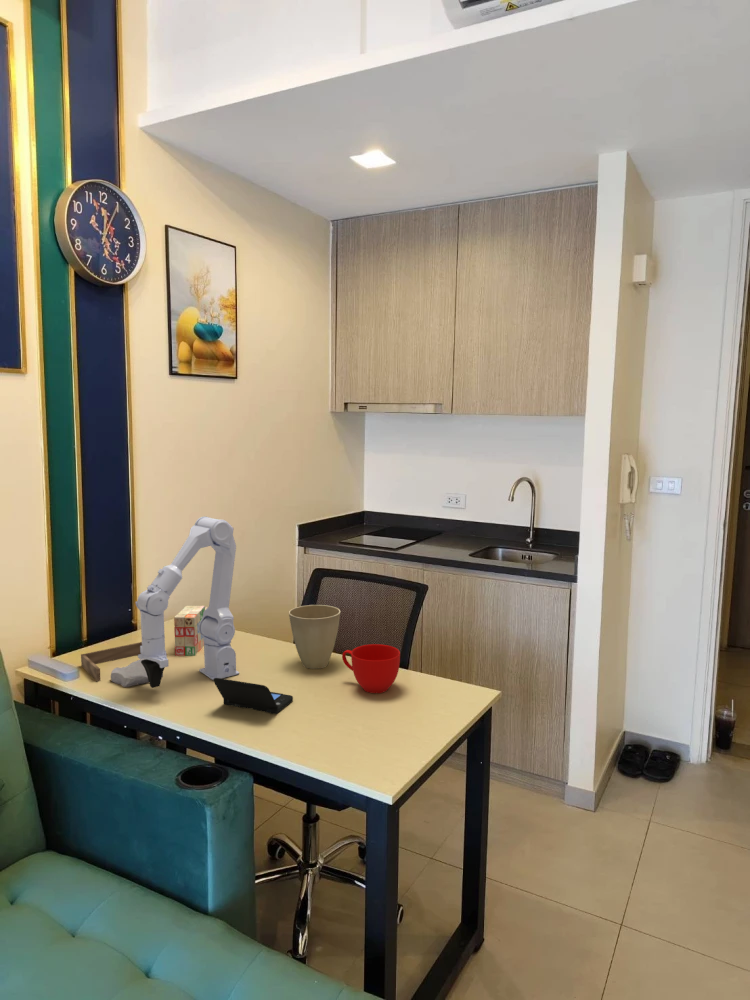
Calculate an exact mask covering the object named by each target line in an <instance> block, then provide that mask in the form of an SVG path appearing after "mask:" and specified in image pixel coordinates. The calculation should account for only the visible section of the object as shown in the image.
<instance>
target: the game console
mask: <svg viewBox="0 0 750 1000" xmlns="http://www.w3.org/2000/svg"><path fill="white" fill-rule="evenodd" d="M212 681H213V683H214V685H215V686H216V688H217V690H218V692H219V693H220V695H221V697H222V698H223V705H224V706H228V707H235V708H240V709H251V710H254V711H257V712H264V713H269V714H272V715H273V714H274V715H277V714H279V713H280V711H282V710H283V709H284V708H286V707H287V706H288V705H290V704H291V703H292V702H293V701H294V697H293V695H289V694H286V693H285V694H284V693H281V692H274V691H271V690H270V688H269V687H268V686H266V685H263V684H260V683H259V684H258V683H252V682H247V681H246V682H245V681H238V680H232V679H227V678H214V679H213V680H212Z"/></svg>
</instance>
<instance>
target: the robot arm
mask: <svg viewBox="0 0 750 1000" xmlns="http://www.w3.org/2000/svg"><path fill="white" fill-rule="evenodd" d="M208 547H211V548H212V549H213V550H214V551H215V553H214V554H215V555H214V561H213V570H212V571H213V572H212V578H211V587H210V594H209V595H210V596H209V603H208V606H207V607H208V608H207V609H206V610H205V611H204V612H203V617H202V620H201V621H200V623H199V632H200V634H201V635H202V636H203V640H204V646H203V649H204V650H203V655H204V657H203V659H204V667H202V668H199V669H198V670H199V672H200V673H201V674H203V675H205V676H206V677H207V678H209V679H210V680H212V681H213V679H214V678H221V679H226V678H228V677H232V676H237V675H239V674H240V671H238V670H237V653H236V650H235V649H234V648H233V647H232V645H231V643H232V640H233V638H234V637H235V633H236V628H235V625H234V620H235V619H234V615H233V614H232V613H233V612H231V610H230V602H231V601H230V599H231V593H232V584H233V576H234V570H235V569H234V568H235V561H236V551H237V544H236V541H235V538H234V527H233V526H232V525H231V524H230V523H229V522H228V521H227V520H225V519H217V518H212V517H210V516H205V515H204V516H201V517H198V518H197V519H196V521H195V523H194V525H192V526H191V527H190V530H189V535H188V536H187V538H186V539H185V541H184V543H183V544H182V546H181V548H180V549H179V551H178V552H177V554H176V556H175V557H174V558H173V560H172V562H171V563H170V564H168V565H165V566H163V567H162V568H159V569H158V570H157V575H156V576H155V578H154V579H153V581H152V582H151V584H149V585H148V586H147V587H146V588H147V589H145V590H144V591H142V592H140V593H139V595H138V597H137V601H135V606H136V608H137V609H138V610H139V612H140V628H141V630H140V631H141V632H140V633H141V642H142V646H140V653H141V654H139V655H137V658H138V660H140V659H145V660H142V661H141V663H142V665H143V666H144V668H145V671H146V673H147V676H148V680H149V682H148V683H149V686H150V688H157V687H158V688H159V687H160V686H161V681H162V678H163V677H162V674H163V675H164V670H165V668H168V667H169V666H170V665H169V659H168V657H167V656H168V655H167V656H166V654H167V650H166V642H165V641H166V640H165V634H166V633H165V614H164V612H165V611H166V610H167V609H168V607H169V600H170V596H171V595H172V594H173V592H174V591H175V589H176V588H177V587H178V585H179V584H180V582H181V581H182V579H183V574H182V573H183V571H184V570H185V568H186V567H187V565H188V564H189V563H190V562H191V561H192V559H193V558H194V557H195V556H196V555H197V554H198V552H199V551H200V550H201V549H203V548H208Z"/></svg>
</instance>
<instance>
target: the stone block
mask: <svg viewBox="0 0 750 1000" xmlns="http://www.w3.org/2000/svg"><path fill="white" fill-rule="evenodd" d="M142 660H145V659H138V660H135V661H132V662H131V663H130V664H128V665H127V666H122V667H115V668H113V669H112V670H111V673H110V681H111V682H112V683H115V684H118V685H121V686H122V687H123V688H129V687H132V686H138V685H142V684H147V683H149V680H148V676H147V673H146V671H145V668H144V666H143V665H142V663H141V661H142ZM163 677H164V673H163V674H162V678H163Z"/></svg>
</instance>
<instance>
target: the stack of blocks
mask: <svg viewBox="0 0 750 1000" xmlns="http://www.w3.org/2000/svg"><path fill="white" fill-rule="evenodd" d="M208 607H209V606H205V605H185V606H184V607H183V608H182V609H181V610H180V611H179V612H178V613H177V614H176V615H175V616H173V622H174V623H173V625H174V628H173V629H174V651H175V652H174V655H175V656H183V657H184V656H187V657H189V656H190V657H191V656H194V657H196V655H197V654H198V653H199V652H200V651H201V649H203V648H204V640H203V636H202V635H201V634H200V632H199V623H200V621H201V620H202V617H203V612H204V611H205V610H206V609H207V608H208Z"/></svg>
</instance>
